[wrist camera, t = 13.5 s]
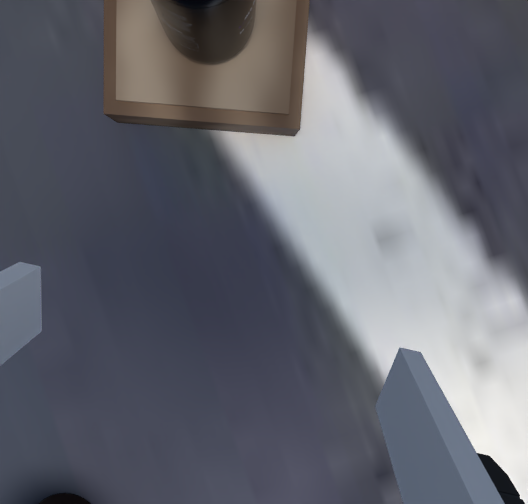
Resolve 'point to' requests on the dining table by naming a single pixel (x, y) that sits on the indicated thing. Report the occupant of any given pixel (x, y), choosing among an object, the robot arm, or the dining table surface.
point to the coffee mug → (64, 499)
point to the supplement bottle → (207, 26)
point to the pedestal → (206, 72)
